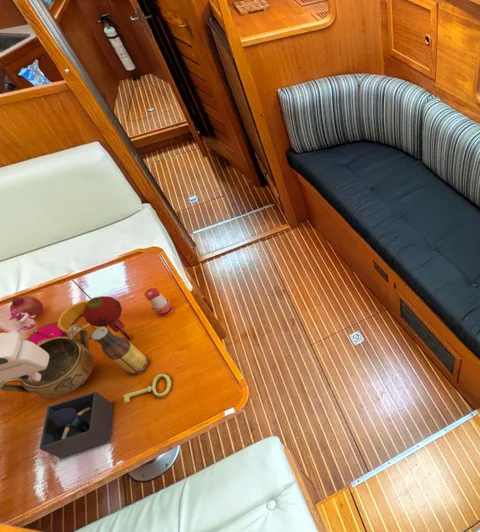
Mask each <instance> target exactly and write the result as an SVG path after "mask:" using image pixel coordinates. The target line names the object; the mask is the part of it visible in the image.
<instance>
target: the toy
mask: <svg viewBox="0 0 480 532" xmlns="http://www.w3.org/2000/svg"><path fill="white" fill-rule="evenodd" d="M144 297H145V298H146V300H148V302H149V303H150V305H151V306H152V308H151V309H152V310H153V311H155V313H156V314H157V315H158V316H159V317H166V316H168V315H170V314H171V313H172V312H174V311H173V310H174V308H173V306H172V303H170V299H168V298H166V297H165V296H164V295H162V294H161V292H160V291H159V289H158V288H157V287H150V288H148V289H147V290H146V291H145V292H144Z"/></svg>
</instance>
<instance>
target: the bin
mask: <svg viewBox="0 0 480 532" xmlns="http://www.w3.org/2000/svg"><path fill="white" fill-rule="evenodd" d="M113 404H114V403H112V402H111V401H110V400H108V399H107V398H105V397H104V396H103V395H102V394H100V393H99V392H98V391H93V392H89V393H86V394H84V395H80V396H76V397H74V398H71V399H70V398H69V399H68V400H64V401H61V402H58V403H54V404H52V405H48V406H47V408H46V414H45V418H44V422H43V423H44V424H43V429H42V433H41V438H40V442H39V448H38V449H39V450H41V451H43V452H46V453H47V454H49V455H52V456H54V457H56V458H59V459H60V460H61V459H62V460H63V459H65V458H67V457H70V456H73V455H77V454H79V453H82V452H85V451H88V450H91V449H94V448H96V447H99V446H100V447H101V446H103V445H105V444H108V443H110V439H111V427H112V416H113V415H112V414H113ZM88 407H91V408H90V409H91V410H88V411H87V412H85V413H84V414H82V415H80V416H79V419H82V420H86V421H87V424H90V428H85V426H84V427H83V429H86V430H87V431H86V432H83V433H81V432H77V431H76V430H75V428H73V427H72V426H70V428H69V431H68V433H67V435H66V438H65V439H62V436H63V433H64V430H65V427H66V425H65V426H61V427H60V426H58V425H57V423H56V422H55V421H54V415H55V413H56V412H57V411H58V410H60V409H63V408H73V409H75V410H76V412H77V413H79V412H81V411H82V410H84V409H86V408H88Z"/></svg>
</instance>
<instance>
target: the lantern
mask: <svg viewBox="0 0 480 532" xmlns="http://www.w3.org/2000/svg"><path fill="white" fill-rule="evenodd" d="M71 281H72V283H74V284H75V285H76V286H77V287H78V288H79V289H80V291H82V293H84V294H85V295H86V297H88V299H89V300H87V301H88V303H87V305H86V306H85V309H84V313H83V318H84V320H85V322H87V324H91V325H93V326H97V327H103V326H105V327H109V328H110V329H111V330H112V331H113V332H115V333H120V334H121V335H122V336H124V338H125V339H126V340H128V341H130V340H131V339H132V336H131V335H130V334H129V333H128V332H127V331H126V330H125V329H124V328H125V324H124V323H123V322H122V320H121V319H120V317H121V315H122V312H123V308H122V305H121V303H120V301H119V300H117V299H116V298H114V297H112V296H103V295H102V296H97V297H96V296H95V297H93V298H92V297H91V296H90V295H88V293H87V292H85V290H84V289H83V288H82V287H81V286H80V285H79V284H78V283H77V281H75V280H74V279H71Z"/></svg>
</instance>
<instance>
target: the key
mask: <svg viewBox="0 0 480 532" xmlns="http://www.w3.org/2000/svg"><path fill="white" fill-rule="evenodd" d="M161 378H164V379H165V380H166V387H165V390H164V391H163V392H161V393H159V392H157V382H158V381H159V379H161ZM171 387H172V380H171V377H170V376H169V375H167V374H166V373H159V374H157V375H156V376H155V377H154V378H153V380H152V385H147V387H145V388H142V389H139V390H135V391H132V392H129V393H126V394H123V398H124V403H125V404H127V403H130V401H131V398H132V397H135V396H139V395H143V394H144V393H145V394H146V393H151V392H152V393H153V394H154V395H155V396H156V397H158V398H163V397H166V395H168V394H169V392H170V390H171Z"/></svg>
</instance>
